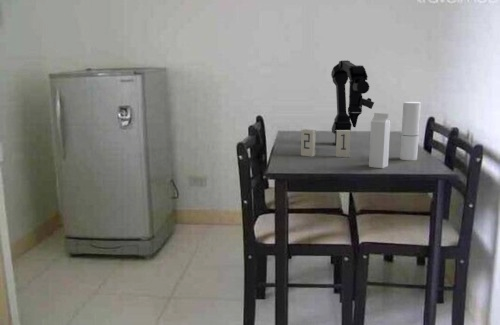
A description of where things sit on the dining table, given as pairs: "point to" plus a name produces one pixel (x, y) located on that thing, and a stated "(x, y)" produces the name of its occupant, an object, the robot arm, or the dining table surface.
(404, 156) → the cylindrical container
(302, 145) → the tile two
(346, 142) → the tile one
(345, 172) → the dining table surface
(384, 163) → the milk
